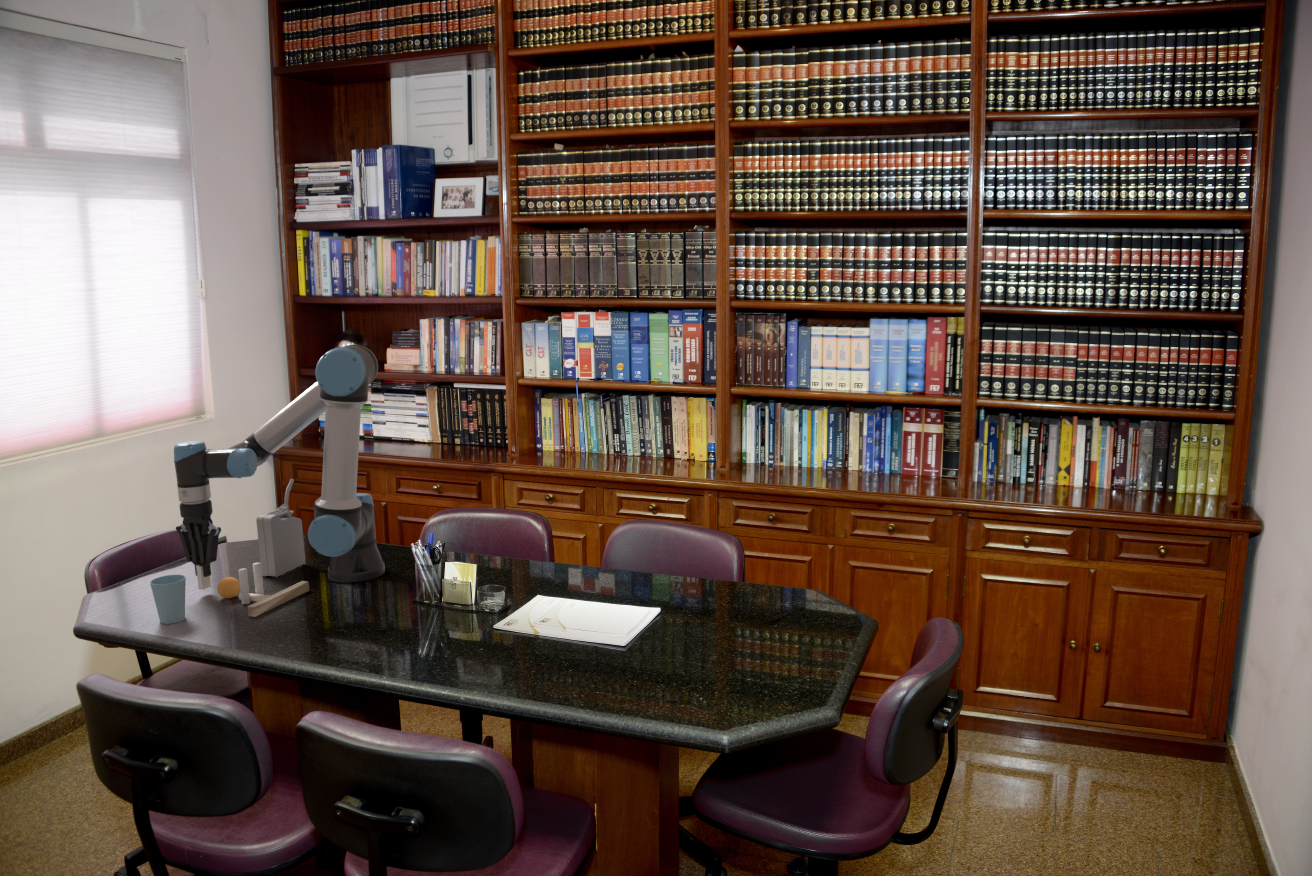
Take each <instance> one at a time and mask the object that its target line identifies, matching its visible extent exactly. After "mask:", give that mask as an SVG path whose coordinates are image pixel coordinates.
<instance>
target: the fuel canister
mask: <svg viewBox="0 0 1312 876" xmlns="http://www.w3.org/2000/svg"><path fill="white" fill-rule="evenodd" d="M294 481H295V479H294V478H290V479H289V482H288V484H287V486H286V489H285V493H284V499H283V500H284V503H283V504H280V506H278V507H277V508H275V510H273V511H270V512H267V513H263V514H259V515H258V516H257V517H256V532H257V540H258V541H257V542H258V549H259V550H258V551H259V561H260V562H259V563H261V569H262V577H266V576H275V577H274V578H277V577H276V576H279V575H281V574H283V573H285V572H287V571H290V570H292V569H294V568H296V567H298V566H300V565H303V564H305V565H306V551H305V541H304V531H303V530H304V529H303V521H302V519H301V518H300V517H299V518H298V517H295V516H292V515H293V514H294V512H295V511H294V510H290V508H289V498H290V497H289V495H290V492H291V490H292V486H293V484H294Z"/></svg>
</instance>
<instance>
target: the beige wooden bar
mask: <svg viewBox="0 0 1312 876" xmlns="http://www.w3.org/2000/svg"><path fill="white" fill-rule="evenodd" d="M309 584H310V583H309V581H307V580H306V581H305V580H301V581H300V582H297V583H295V584H293V585H291V586H288V587H287V588H284V589H282V590H280V591H278V592H276V593H274V594H271V596H269V597H267V598H265V599H262V600H260V601H258V602H253V603H252V604H250V605H247V616H248V617H253V618H255V617H258V616H260V615H262V614H264V613H266V612H268V611H271V610H273V609H274V608H277V607H279V606H280V604H281V605H284V604H285V603H287V602H289V601H290V600H293V599H295V598H297V597H299V596H301V595H303V594H305V593H307V592H309V591H310V585H309ZM276 606H277V607H276Z"/></svg>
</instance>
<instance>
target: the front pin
mask: <svg viewBox="0 0 1312 876" xmlns="http://www.w3.org/2000/svg"><path fill="white" fill-rule="evenodd" d="M249 595H250V602H253V603H256V602H258V601H260V600H262V599H265V598H267V597H269V596H271V595H272V594H271V595H270V594H264V595H262V594H256V593H250V592H249ZM238 600H239V601H241V592H239V593H238Z"/></svg>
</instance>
